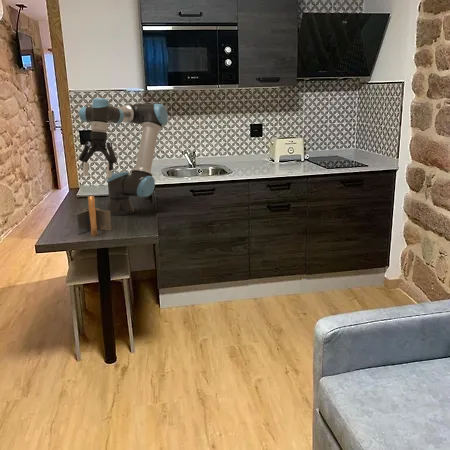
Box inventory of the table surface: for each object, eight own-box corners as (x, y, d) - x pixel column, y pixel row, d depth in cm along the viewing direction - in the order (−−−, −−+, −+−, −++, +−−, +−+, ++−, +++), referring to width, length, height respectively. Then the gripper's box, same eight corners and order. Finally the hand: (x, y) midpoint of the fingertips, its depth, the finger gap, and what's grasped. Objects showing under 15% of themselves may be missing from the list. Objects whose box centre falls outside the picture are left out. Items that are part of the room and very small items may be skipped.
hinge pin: (93, 233, 229) (90, 195, 224) (98, 234, 228) (95, 196, 223) (89, 235, 226) (86, 196, 221) (95, 236, 225) (91, 197, 220)
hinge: (91, 226, 242) (89, 207, 239) (114, 229, 237) (113, 209, 234) (73, 233, 229) (71, 213, 227) (97, 236, 224) (95, 216, 221)
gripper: (72, 130, 225) (70, 174, 226) (116, 131, 215) (114, 177, 217) (83, 132, 232) (81, 175, 233) (125, 133, 222) (123, 178, 224)
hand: (97, 176), depth 225 cm, fingers open, 13 cm apart
